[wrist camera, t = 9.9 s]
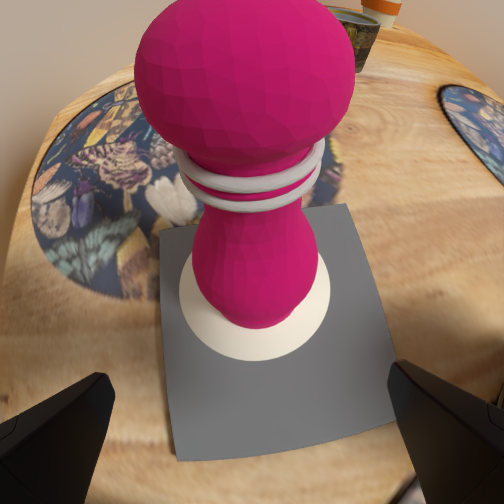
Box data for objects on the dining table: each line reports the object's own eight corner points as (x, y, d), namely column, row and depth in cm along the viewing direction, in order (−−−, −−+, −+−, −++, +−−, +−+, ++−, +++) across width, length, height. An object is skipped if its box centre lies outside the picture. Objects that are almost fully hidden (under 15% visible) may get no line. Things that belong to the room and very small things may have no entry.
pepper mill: (200, 253, 22) (111, -37, 5) (292, 235, 23) (322, -58, 5) (214, 346, 19) (3, -7, 1) (319, 323, 19) (481, -20, 2)
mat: (403, 415, 16) (408, 415, 16) (180, 459, 16) (176, 461, 15) (344, 208, 25) (346, 202, 24) (162, 235, 24) (159, 229, 23)
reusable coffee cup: (348, 15, 60) (352, -26, 47) (379, 18, 62) (384, -19, 48) (374, 28, 54) (381, -17, 41) (405, 32, 56) (414, -9, 43)
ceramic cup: (313, 51, 42) (316, 4, 33) (366, 61, 41) (375, 15, 32) (311, 80, 36) (316, 20, 27) (377, 92, 35) (391, 35, 26)
